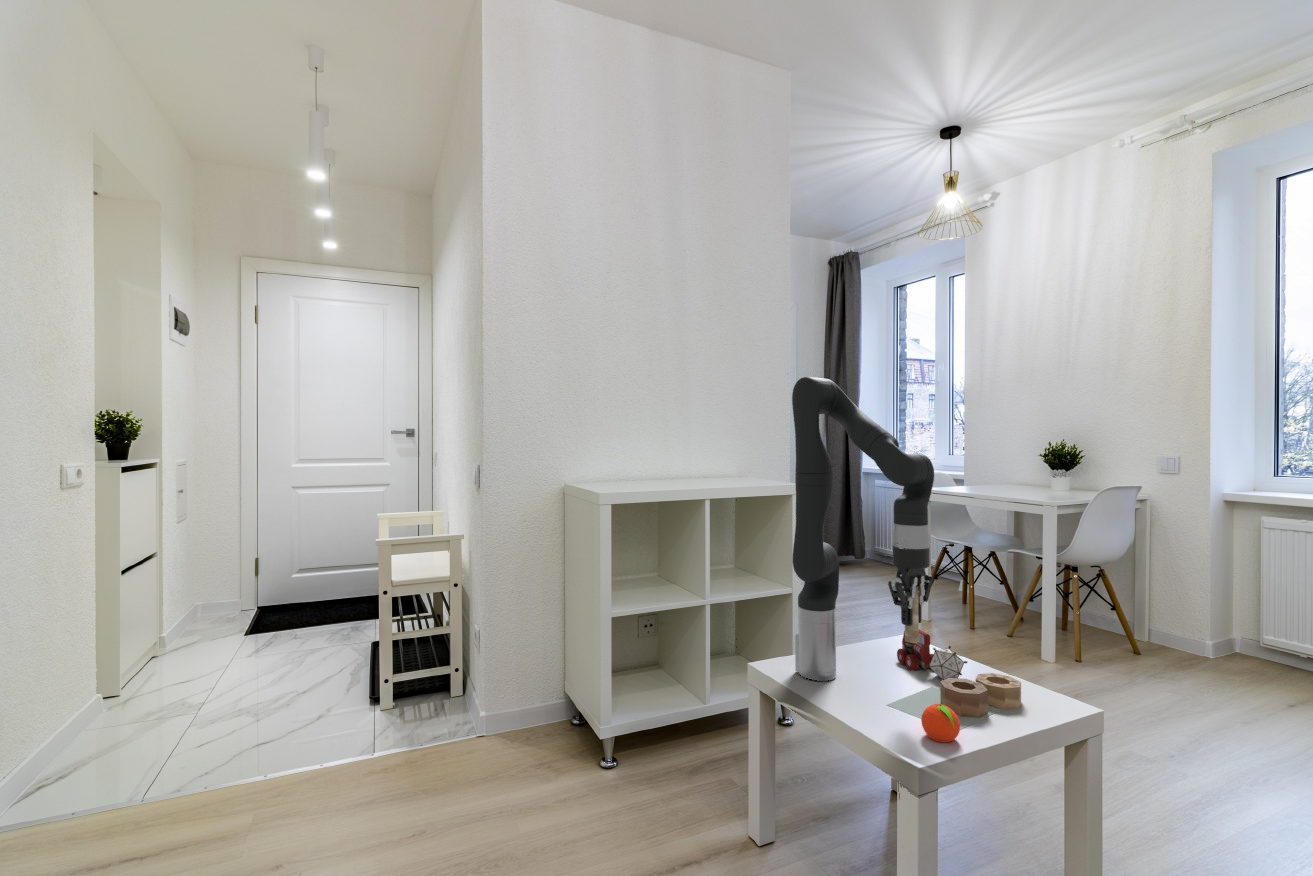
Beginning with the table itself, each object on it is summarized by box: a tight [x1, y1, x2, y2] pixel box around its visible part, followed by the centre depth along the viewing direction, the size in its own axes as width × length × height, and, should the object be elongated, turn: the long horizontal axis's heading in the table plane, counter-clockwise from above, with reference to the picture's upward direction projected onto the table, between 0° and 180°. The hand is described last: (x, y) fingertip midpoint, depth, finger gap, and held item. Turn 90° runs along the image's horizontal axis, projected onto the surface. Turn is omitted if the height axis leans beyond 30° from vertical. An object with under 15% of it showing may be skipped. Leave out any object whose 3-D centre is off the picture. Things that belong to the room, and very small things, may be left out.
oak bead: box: [975, 672, 1022, 710], centre depth 139 cm, size 9×9×5 cm
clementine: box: [920, 704, 961, 743], centre depth 121 cm, size 8×7×7 cm
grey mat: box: [886, 686, 1001, 731], centre depth 135 cm, size 16×18×1 cm
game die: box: [925, 645, 968, 681], centre depth 153 cm, size 9×8×10 cm
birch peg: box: [904, 587, 920, 643], centre depth 136 cm, size 3×3×12 cm
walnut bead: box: [939, 677, 989, 718], centre depth 135 cm, size 9×9×5 cm
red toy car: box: [896, 628, 933, 672], centre depth 163 cm, size 7×12×10 cm, turn 4°
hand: (911, 623), depth 136 cm, fingers closed on birch peg, 2 cm apart
